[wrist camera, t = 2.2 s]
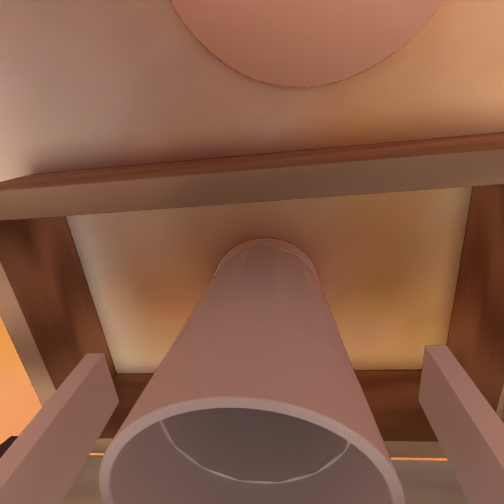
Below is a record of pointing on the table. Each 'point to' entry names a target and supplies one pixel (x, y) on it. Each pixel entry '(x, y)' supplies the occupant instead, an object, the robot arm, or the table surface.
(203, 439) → the cup
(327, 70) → the saucer
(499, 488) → the robot arm
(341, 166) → the hinged wooden box
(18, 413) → the table surface
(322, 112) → the table surface
